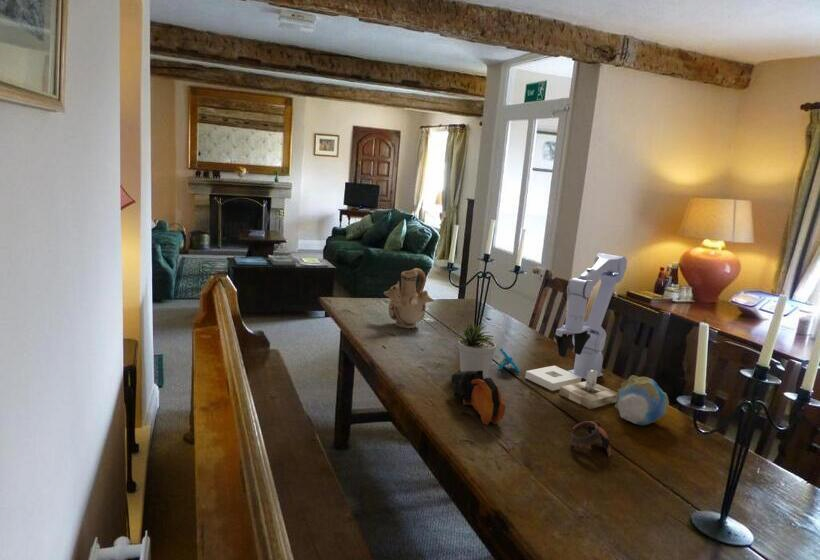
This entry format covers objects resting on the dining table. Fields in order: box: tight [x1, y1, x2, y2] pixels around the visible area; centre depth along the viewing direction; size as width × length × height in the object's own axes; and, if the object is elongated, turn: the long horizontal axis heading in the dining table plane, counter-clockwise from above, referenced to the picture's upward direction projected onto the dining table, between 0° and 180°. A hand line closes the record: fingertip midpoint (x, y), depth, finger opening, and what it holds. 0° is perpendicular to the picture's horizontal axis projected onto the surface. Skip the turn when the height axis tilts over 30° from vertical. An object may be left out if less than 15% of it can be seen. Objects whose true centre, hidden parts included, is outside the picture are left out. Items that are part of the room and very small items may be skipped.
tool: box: [451, 370, 506, 426], centre depth 160 cm, size 8×23×15 cm, turn 20°
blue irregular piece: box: [497, 347, 521, 372], centre depth 196 cm, size 11×6×10 cm
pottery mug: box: [569, 419, 612, 458], centre depth 143 cm, size 12×10×8 cm
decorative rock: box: [614, 375, 670, 426], centre depth 162 cm, size 14×16×15 cm
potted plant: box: [454, 319, 497, 379], centre depth 186 cm, size 13×14×20 cm
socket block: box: [524, 365, 583, 392], centre depth 188 cm, size 14×12×2 cm
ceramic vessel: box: [383, 267, 435, 329], centre depth 238 cm, size 18×19×25 cm
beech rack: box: [559, 380, 618, 410], centre depth 176 cm, size 14×12×2 cm
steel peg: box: [585, 369, 598, 394], centre depth 176 cm, size 3×3×9 cm
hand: (569, 355), depth 184 cm, fingers open, 7 cm apart
